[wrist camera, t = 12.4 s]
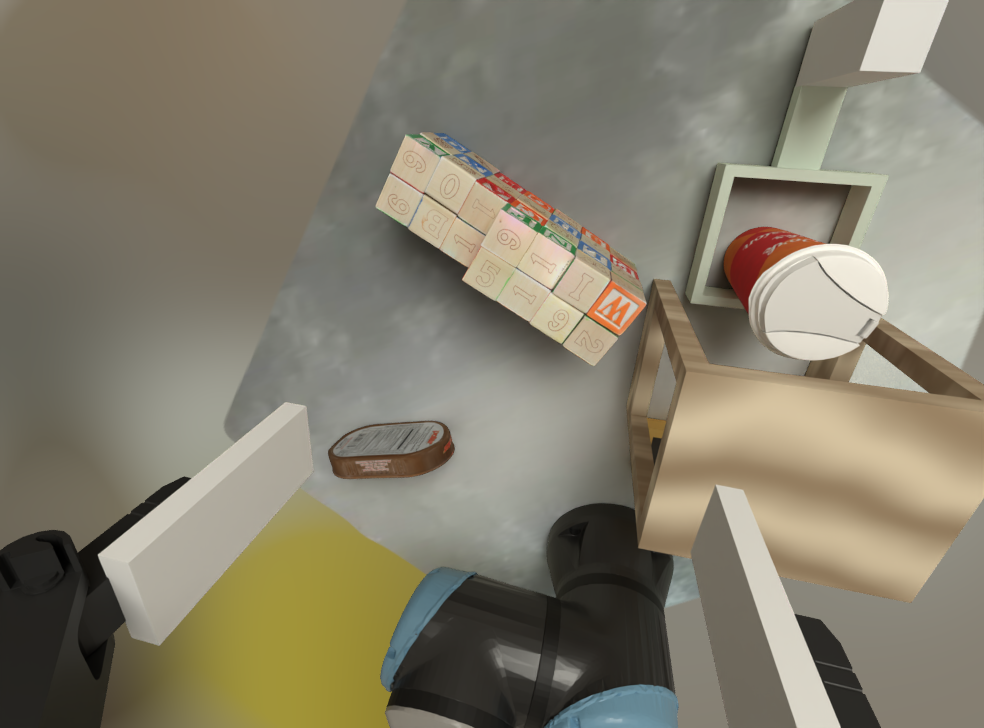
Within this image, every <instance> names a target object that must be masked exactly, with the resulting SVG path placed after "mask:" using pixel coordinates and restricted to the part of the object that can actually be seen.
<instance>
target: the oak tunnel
mask: <svg viewBox="0 0 984 728" xmlns="http://www.w3.org/2000/svg"><path fill="white" fill-rule="evenodd" d="M878 323H879V324H878V325H877V327H876V328H875V329H874V330H873V331H872V332H871V334H870V335H869V336H868V337H867V338H864V339H863V340H862V341H861V342H860V343H858V344H859V345H860V346H858V347H857V348H855V349H854V350H852V351H850V352H848V353H845V354H843V355H840V356H837V357H834V358H829V359H825V360H811V362H810V364H809V367H808V369H807V371H806V374H805V376H797V375H790V374H782V373H775V372H767V371H760V370H752V369H745V368H738V367H730V366H723V365H715V364H709V362H708V360H707V358H706V356H705V354H704V352H703V349H702V347H701V345H700V343H699V341H698V339H697V337H696V334H695V332H694V330H693V328H692V326H691V324H690V322H689V319H688V317H687V315H686V313H685V311H684V309H683V306H682V304H681V302H680V300H679V298H678V296H677V294H676V291H675V289H674V287H673V285H672V283H671V281H669V280H660V279H654V280H653V285H652V290H651V294H650V299H649V303H648V308H647V313H646V317H645V322H644V327H643V331H642V336H641V341H640V345H639V350H638V355H637V359H636V364H635V368H634V373H633V378H632V382H631V387H630V392H629V396H628V401H627V406H626V408H627V420H628V432H629V444H630V456H631V468H632V480H633V492H634V503H635V515H636V527H637V539H638V548H641V549H646V550H651V551H656V552H661V553H666V554H671V555H676V556H681V557H685V558H690V559H692V557H691V549H692V547H693V544H694V541H695V538H696V536H697V533H698V530H699V528H700V525H701V522H702V520H703V517H704V514H705V511H706V509H707V506H708V503H709V501H710V498H711V495H712V493H713V490H714V487H715V485H721V486H726V487H731V488H736V489H742V490H743V491H744V493H745V495H746V498H747V500H748V503H749V505H750V508H751V510H752V513H753V515H754V517H755V520H756V522H757V525H758V527H759V530H760V532H761V534H762V537H763V539H764V542H765V544H766V547H767V549H768V551H769V554H770V556H771V559H772V561H773V564H774V566H775V568H776V571H777V573H778V576H780V577H785V578H790V579H795V580H800V581H805V582H810V583H814V584H820V585H824V586H829V587H834V588H840V589H844V590H850V591H854V592H859V593H864V594H869V595H874V596H879V597H884V598H889V599H894V600H899V601H904V602H909V603H911V602H912V601H913V599H914V598H915V596H916V595H917V594H918V592H919V591H920V589H921V588H922V586H923V585H924V584H925V582H926V581H927V579H928V578H929V576H930V575H931V573H932V572H933V571H934V569H935V568H936V566H937V565H938V563H939V562H940V560H941V559H942V558H943V556H944V555H945V553H946V552H947V550H948V549H949V547H950V546H951V545H952V543H953V542H954V540H955V539H956V537H957V536H958V534H959V533H960V531H961V530H962V529H963V527H964V526H965V524H966V523H967V521H968V520H969V518H970V517H971V516H972V514H973V513H974V511H975V510H976V508H977V507H978V506H979V504H980V503H981V501H982V500H983V498H984V384H982V383H981V382H979V381H977V380H976V379H974V378H973V377H971V376H970V375H968V374H967V373H965V372H964V371H962V370H961V369H959V368H958V367H956V366H955V365H953V364H951V363H950V362H948V361H947V360H945V359H944V358H942V357H941V356H939V355H938V354H936V353H935V352H933V351H931V350H930V349H928V348H927V347H925V346H924V345H922V344H921V343H919V342H918V341H916V340H915V339H913V338H912V337H910V336H908V335H907V334H905V333H904V332H902V331H901V330H899V329H898V328H896V327H895V326H893V325H892V324H890V323H889V322H887V321H885V320H884V319H882V318H880V320H879V322H878ZM664 343H665V345H666V348H667V351H668V355H669V358H670V361H671V365H672V368H673V372H674V375H675V378H676V382H677V383H676V387H675V390H674V394H673V398H672V402H671V405H670V409H669V413H668V417H667V420H666V424H665V428H664V432H663V436H662V439H661V443H660V447H659V451H658V454H657V458H656V462H655V466H654V461H653V454H652V448H651V441H650V435H649V428H648V422H647V413H648V409H649V405H650V401H651V397H652V392H653V388H654V384H655V380H656V376H657V372H658V368H659V363H660V359H661V355H662V351H663V347H664ZM866 344H868V345H869V346H870V347H871V348H873V349H874V350H875V351H876V352H878V353H879V354H880V355H882V356H883V357H884V358H885V359H887V360H888V361H889V362H890V363H892V364H893V365H894V366H896V367H897V368H898V369H899V370H901V371H902V372H903V373H904V374H906V375H907V376H908V377H910V378H911V379H912V380H913V381H915V382H916V383H917V384H918V385H920V386H921V387H922V388H924V389H925V390H926V391H927V392H929V393H923V392H916V391H908V390H901V389H894V388H886V387H879V386H871V385H864V384H856V383H849V380H850V378H851V376H852V373H853V371H854V369H855V367H856V365H857V362H858V360H859V358H860V356H861V354H862V351H863V349H864V347H865V345H866Z"/></svg>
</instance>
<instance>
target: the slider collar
mask: <svg viewBox="0 0 984 728" xmlns="http://www.w3.org/2000/svg"><path fill="white" fill-rule="evenodd" d="M948 1H949V0H854V1H852V2H850V3H849V4H847V5H845V6H843V7H841V8H839V9H838V10H836V11H834V12H832V13H830V14H828V15H827V16H825V17H823V18H821V19H819V20H817V21H816V22H814V25H813V29H812V32H811V35H810V39H809V42H808V45H807V49H806V52H805V55H804V59H803V62H802V65H801V69H800V72H799V75H798V79H797V82H796V86H795V87H794V91H793V94H792V97H791V101H790V104H789V108H788V111H787V114H786V118H785V121H784V124H783V128H782V131H781V134H780V138H779V141H778V144H777V148H776V151H775V154H774V158H773V161H772V164H771V166H761V165H746V164H731V163H718V164H717V168H716V172H715V176H714V180H713V184H712V188H711V192H710V196H709V200H708V204H707V208H706V212H705V216H704V220H703V224H702V228H701V232H700V236H699V240H698V244H697V248H696V252H695V256H694V260H693V264H692V268H691V272H690V276H689V280H688V284H687V288H686V292H685V294H686V296H687V297H688V299H689V301H690V303H693V304H702V305H711V306H720V307H728V308H737V309H745V308H744V306H743V305H742V303H741V301H740V300H739V298H738V296H737V295H736V293H735V291H734V290H732V289H723V288H714V287H705V284H706V281H707V277H708V273H709V269H710V266H711V262H712V258H713V254H714V251H715V247H716V243H717V240H718V236H719V232H720V228H721V225H722V221H723V217H724V213H725V210H726V206H727V202H728V199H729V195H730V191H731V187H732V184H733V180H734V177H747V178H761V179H776V180H790V181H804V182H818V183H832V184H846V185H852V187H851V189H850V192H849V194H848V197H847V200H846V202H845V205H844V208H843V210H842V213H841V216H840V218H839V221H838V224H837V226H836V229H835V232H834V234H833V237H832V240H831V242H830V244H841V245H848V246H851V247H854V248H857V249H859V248H860V246H861V243H862V241H863V239H864V236H865V234H866V231H867V229H868V226H869V224H870V221H871V219H872V216H873V214H874V211H875V209H876V207H877V204H878V202H879V199H880V197H881V194H882V192H883V189H884V187H885V184H886V182H887V180H888V177H889V175H882V174H875V173H867V172H852V171H837V170H821V169H820V167H821V164H822V161H823V158H824V155H825V152H826V149H827V146H828V143H829V141H830V138H831V135H832V132H833V129H834V126H835V123H836V120H837V117H838V114H839V111H840V108H841V106H842V103H843V100H844V97H845V94H846V91H847V88H848V87H852V86H857V85H862V84H867V83H872V82H877V81H882V80H887V79H892V78H896V77H901V76H906V75H911V74H916V73H920V71H921V69H922V66H923V64H924V61H925V59H926V56H927V54H928V51H929V49H930V46H931V44H932V41H933V38H934V36H935V34H936V31H937V28H938V26H939V23H940V21H941V18H942V16H943V14H944V11H945V9H946V6H947V4H948Z"/></svg>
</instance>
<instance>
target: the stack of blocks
mask: <svg viewBox="0 0 984 728" xmlns="http://www.w3.org/2000/svg"><path fill="white" fill-rule="evenodd" d="M375 207H376V208H377V209H378V210H380V211H382V212H383V213H385V214H386V215H388V216H390V217H391V218H393V219H394V220H396V221H397V222H399V223H400V224H402V225H404V226H406V227H408V229H409V230H410V231H412V232H413V233H415V234H416V235H418V236H419V237H421V238H423V239H424V240H426V241H427V242H429V243H431V244H432V245H433V246H435V247H437V248H439V249H440V250H441V251H442V252H444V253H445V254H447V255H448V256H450V257H452V258H453V259H455V260H456V261H458V262H460V263H461V264H463V265H464V266H466V267H468V270H467V271H466V273H465V275H464V276H463V278H462V281H464V282H465V283H467V284H469V285H470V286H472V287H473V288H475V289H477V290H478V291H480V292H481V293H483V294H484V295H486V296H487V297H489V298H491V299H492V300H494V301H497V302H499V303H500V304H502V305H503V306H504V307H506V308H508V309H509V310H511V311H512V312H514V313H516V314H517V315H519V316H520V317H522V318H523V319H525V320H527V321H529V323H530V324H531V325H532V326H534V327H535V328H537V329H538V330H540V331H541V332H543V333H544V334H546V335H547V336H549V337H550V338H552V339H553V340H555V341H557V342H558V343H560V344H562V345H563V346H564V347H565V348H566V349H568V350H569V351H571V352H572V353H574V354H575V355H577V356H578V357H580V358H581V359H583V360H584V361H586V362H587V363H589V364H590V365H592V366H595V365H596V364H597V363H598V362H599V360H600V359H601V358H602V357H603V356H604V355H605V354H606V352H607V351H608V350H609V349H610V348H611V347H612V346H613V344H614V343H615V342H616V341H617V340H618V336H620V335H621V334H622V333H623V332H624V331H625V330H626V329H627V328H628V326H629V325H630V324H631V323H632V322H633V321H634V319H635V318H636V317H637V316H638V315H639V313H640V312H641V311H642V310H643V309H644V307H645V306H646V304H647V303H646V300H645V297H644V294H643V289H642V285H641V282H640V281H639V278H638V275H637V269H636V267H635V264H634V263H633V262H631V261H630V260H628V259H627V258H625V257H624V256H622V255H621V254H620V253H618V252H617V251H615V250H614V249H612V248H611V247H610V246H609V245H608V244H607V243H605V242H604V241H602V240H601V239H600V238H598V237H597V236H595V235H594V234H592V233H591V232H589V231H588V230H587V229H585V228H584V227H582V226H581V225H579V224H578V223H577V222H575V221H574V220H572V219H571V218H569V217H568V216H567V215H565V214H564V213H562V212H561V211H559V210H558V209H554V208H552V207H551V206H550V205H548V204H547V203H545V202H544V201H542V200H541V199H539V198H538V197H536V196H535V195H533V194H532V193H531V192H529V191H526V190H525V189H523V188H522V187H521V186H519V185H518V184H516V183H515V182H513V181H512V180H510V179H509V178H508V177H506V176H505V175H503V174H502V173H500V171H499V170H498V169H497V168H495V167H494V166H492V165H491V164H490V163H488V162H487V161H485V160H484V159H482V158H481V157H479V156H478V155H476V154H475V153H473V152H471V151H470V150H468V149H467V148H465V147H464V146H463V145H461V144H460V143H458V142H457V141H455V140H454V139H452V138H451V137H449V136H448V135H446V134H444V133H420V134H406V136H405V138H404V140H403V142H402V145H401V147H400V149H399V152H398V154H397V156H396V159H395V161H394V163H393V165H392V168H391V170H390V174H389V176H388V178H387V181H386V183H385V185H384V187H383V190H382V193H381V195H380V197H379V199H378V201H377V204H376V206H375Z"/></svg>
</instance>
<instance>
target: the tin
mask: <svg viewBox="0 0 984 728" xmlns="http://www.w3.org/2000/svg"><path fill="white" fill-rule="evenodd" d="M454 449H455V447H454V444H453V442H452V438H451V435H450V431H449V429H448V427H447V426H446V425H444V424H443V423H440V422H436V421H419V422H403V423H388V424H376V425H369V426H365V427H361V428H358V429H356V430H353V431H351V432H349V433H347V434H345V435H344V436H343V437H342V438H341V439H339V440H338V441H337V442H336V443H335V444H334V445H333V446H332V447H331V448H330V449H329V451H328V455H329V459H330V462H331V465H332V468H333V473H334V474H335V475H336V476H337V477H339V478H343V479H366V478H404V477H414V476H418V475H422V474H425V473H428V472H430V471H433V470H435V469H437V468H439V467H440V466H442V465H443V464H445V463H446V462H447V461H448V460H449V459H450V458H451V456H452V455H453V453H454Z"/></svg>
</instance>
